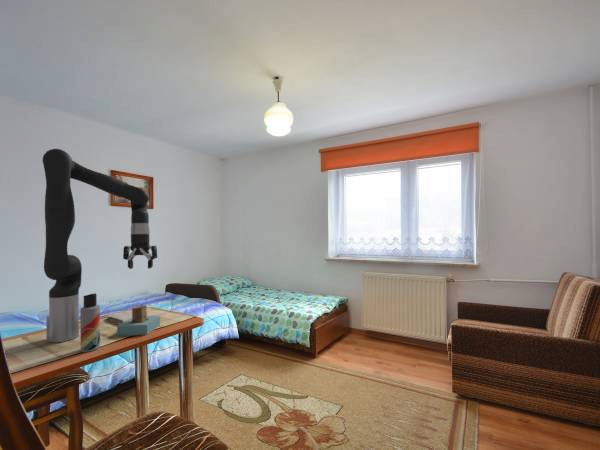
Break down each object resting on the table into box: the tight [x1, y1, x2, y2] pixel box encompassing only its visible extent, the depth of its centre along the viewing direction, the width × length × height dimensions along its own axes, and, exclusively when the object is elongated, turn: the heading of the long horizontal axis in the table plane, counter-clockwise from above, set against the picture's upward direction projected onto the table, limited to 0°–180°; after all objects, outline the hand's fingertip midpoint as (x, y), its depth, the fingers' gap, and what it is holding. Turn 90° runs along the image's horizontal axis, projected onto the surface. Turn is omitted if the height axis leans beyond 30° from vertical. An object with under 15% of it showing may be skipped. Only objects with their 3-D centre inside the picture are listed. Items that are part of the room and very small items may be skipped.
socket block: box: [116, 315, 161, 337], centre depth 124 cm, size 12×12×4 cm
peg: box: [131, 304, 148, 323], centre depth 124 cm, size 4×4×10 cm
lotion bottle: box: [79, 292, 101, 353], centre depth 104 cm, size 6×6×20 cm
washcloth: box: [106, 309, 148, 325], centre depth 140 cm, size 12×18×3 cm, turn 57°
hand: (140, 268), depth 132 cm, fingers open, 8 cm apart
